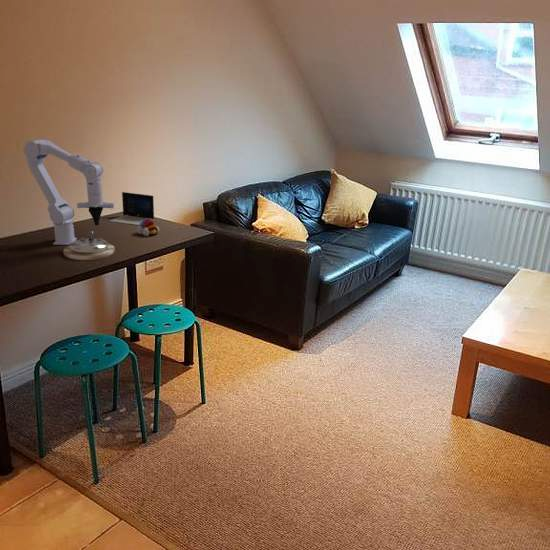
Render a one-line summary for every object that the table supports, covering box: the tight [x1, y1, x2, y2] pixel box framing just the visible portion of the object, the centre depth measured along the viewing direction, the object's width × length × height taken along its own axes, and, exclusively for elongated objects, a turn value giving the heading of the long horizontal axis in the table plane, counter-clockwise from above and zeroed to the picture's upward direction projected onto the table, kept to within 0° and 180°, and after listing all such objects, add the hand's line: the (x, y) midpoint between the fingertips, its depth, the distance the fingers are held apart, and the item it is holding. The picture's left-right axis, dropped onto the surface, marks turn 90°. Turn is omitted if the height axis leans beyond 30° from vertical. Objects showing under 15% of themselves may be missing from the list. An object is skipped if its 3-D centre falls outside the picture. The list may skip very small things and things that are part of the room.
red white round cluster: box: [136, 218, 160, 237], centre depth 253 cm, size 8×10×7 cm
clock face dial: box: [68, 230, 109, 254], centre depth 224 cm, size 15×15×6 cm
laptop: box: [109, 191, 155, 226], centre depth 273 cm, size 18×12×13 cm
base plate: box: [63, 243, 116, 261], centre depth 225 cm, size 20×20×2 cm
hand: (97, 224), depth 231 cm, fingers closed
